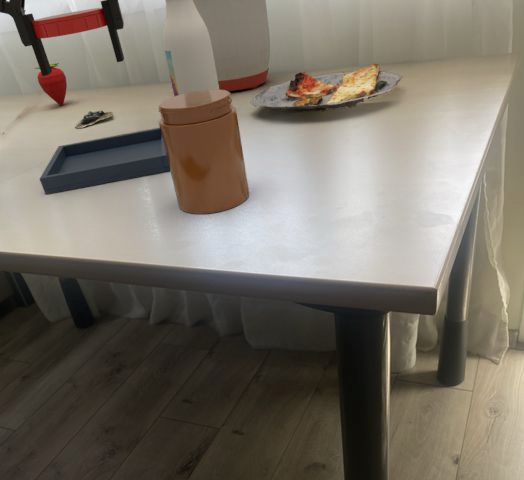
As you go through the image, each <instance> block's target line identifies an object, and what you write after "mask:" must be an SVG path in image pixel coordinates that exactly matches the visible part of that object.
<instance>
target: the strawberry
mask: <svg viewBox="0 0 524 480" xmlns="http://www.w3.org/2000/svg"><path fill="white" fill-rule="evenodd" d="M49 64H50V67H51V70H52V72H51V73H50V74H49V75H46V76H42V73H41V71H39V72H38V74H37V83H38V84H39V86H40V88H41V89H42V91H43V92H44V93H45V94H46V95H47V96H48V97H49V98H50V99H52V100H53V101H54V102H55V103H56V104H57V105H59V106H64V104H65V99H66V95H67V88H68V85H67V76H66V75H65V72H64V70H62V69H60V68H59V67H58V66H59V64H60V63H59V62H58V63H57V62H56V63H49ZM34 69H35V70H40V67H39V66H38V67H34Z"/></svg>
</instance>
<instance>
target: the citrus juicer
mask: <svg viewBox="0 0 524 480" xmlns="http://www.w3.org/2000/svg"><path fill="white" fill-rule="evenodd" d="M193 2H194V4H195V7H196V9H197V11H198V13H199V14H200V16H201V18H202V19H203V21H204V23H205V25H206V27H207V30H208V33H209V36H210V40H211V45H212V50H213V56H214V61H215V67H216V73H217V78H218V84H219V90H226V91H228V92H233V91H240V90H245V89H247V90H252V89H256V88H258V86H259V85H262V84H264V83H265V82H266V81H267V78H268V74H269V69H270V68H269V64H270V58H271V57H270V56H271V40H270V39H271V38H270V37H271V36H270V26H269V18H268V17H269V16H268V9H267V1H266V0H193Z"/></svg>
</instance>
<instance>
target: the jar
mask: <svg viewBox="0 0 524 480" xmlns="http://www.w3.org/2000/svg"><path fill="white" fill-rule="evenodd" d="M232 102H233V99H232V93H231V92H230V91H226V90H203V91H196V92H190V93H185V94H181V95H177V96H174V95H173V96H171V97H169V98H167V99H164V100H163V101H161V102H160V103H158V112H159V113H160V117H161V118H160V119H159V120H158V126H159V128H160V130H161V134H162V139H163V143H164V147H165V151H166V155H167V159H168V163H169V167H170V171H169V172H170V175H171V180H172V183H173V188H174V192H175V196H176V200H177V204H178V207H179V209H180V210H181V211H182V212H185V213H188V214H192V215H193V214H194V215H206V214H214V213H215V214H216V213H219V212H224V211H227V210H231V209H233V208H235V207H237V206H240V205H242V204H243V203H245V201H246V200H248V198H249V196H250V190H249V184H248V183H249V182H248V177H247V171H246V165H245V163H246V162H245V157H244V152H243V146H242V138H241V132H240V126H239V118H238V113H237V108H236V106H234V105H232Z"/></svg>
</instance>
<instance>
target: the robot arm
mask: <svg viewBox="0 0 524 480" xmlns="http://www.w3.org/2000/svg"><path fill="white" fill-rule="evenodd" d="M25 3H26V0H9V1H8V0H0V14H5V15H9V16H10V17H11V18H12V19H13V22H14V25H15V27H16V30H17V33H18V36H19V39H20V41H21V43H22V45H23V46H24V47H25V48H26V47H32V50H33V53H34V56H35V58H36V62H37V64H38V67H40V69H39V70H40V72H41V73H42V76H46V75H49V74H50V73H51V72H52V70H51V67H50V64H51V63H50V61H49V59H48V56H47V53H46V50H45V46H44V44H43V41H42V38H41V39H39V38H37V37H36V35H35V32H34V29H33V25H32V22H31V21H33V20H35V17H34V15H33V13H26V9H25V8H26V7H25V5H26V4H25ZM100 5H101V8H102V9H103V13H104V16H105V20H106V23H107V26H106V27H107V31H108V34H109V39H110V41H111V45H112V48H113V53H114V56H115V60H116V63H121V62H124V60H125V56H124V53H123V48H122V45H121V41H120V37H119V33H118V30H123V29H124V27H125V26H124V25H125V22H124V17H123V14H122V11H121V10H122V9H121V7H120V1H119V0H101V1H100Z"/></svg>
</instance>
